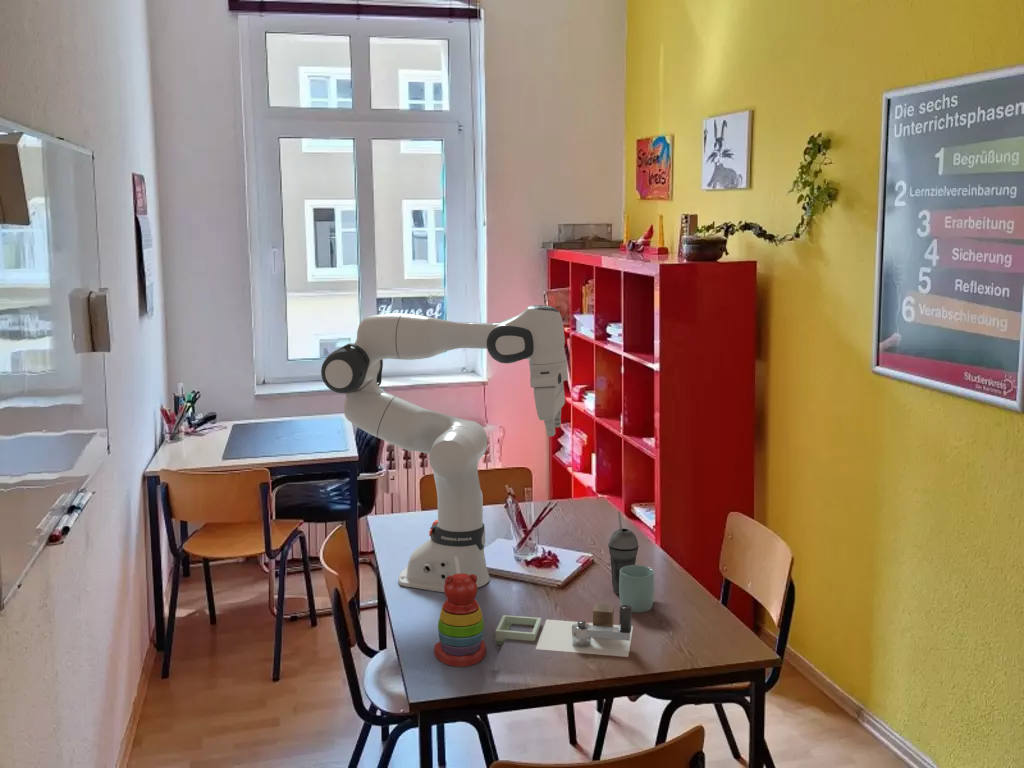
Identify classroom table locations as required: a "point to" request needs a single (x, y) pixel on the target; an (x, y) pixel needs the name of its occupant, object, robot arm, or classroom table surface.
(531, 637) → the tray
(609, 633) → the crank
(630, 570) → the cup
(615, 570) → the beverage cup
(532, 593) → the classroom table surface
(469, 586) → the stacking bear
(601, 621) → the block
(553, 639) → the crank plate
